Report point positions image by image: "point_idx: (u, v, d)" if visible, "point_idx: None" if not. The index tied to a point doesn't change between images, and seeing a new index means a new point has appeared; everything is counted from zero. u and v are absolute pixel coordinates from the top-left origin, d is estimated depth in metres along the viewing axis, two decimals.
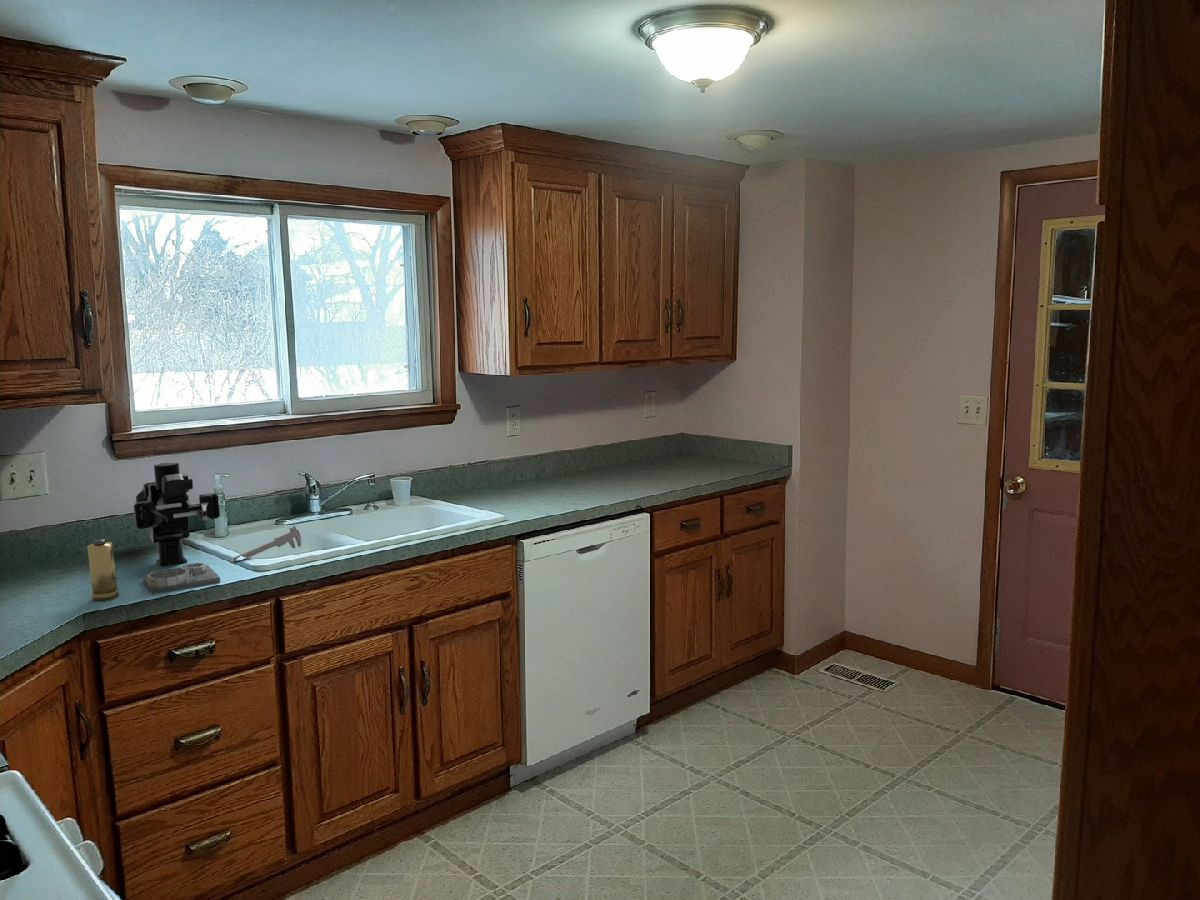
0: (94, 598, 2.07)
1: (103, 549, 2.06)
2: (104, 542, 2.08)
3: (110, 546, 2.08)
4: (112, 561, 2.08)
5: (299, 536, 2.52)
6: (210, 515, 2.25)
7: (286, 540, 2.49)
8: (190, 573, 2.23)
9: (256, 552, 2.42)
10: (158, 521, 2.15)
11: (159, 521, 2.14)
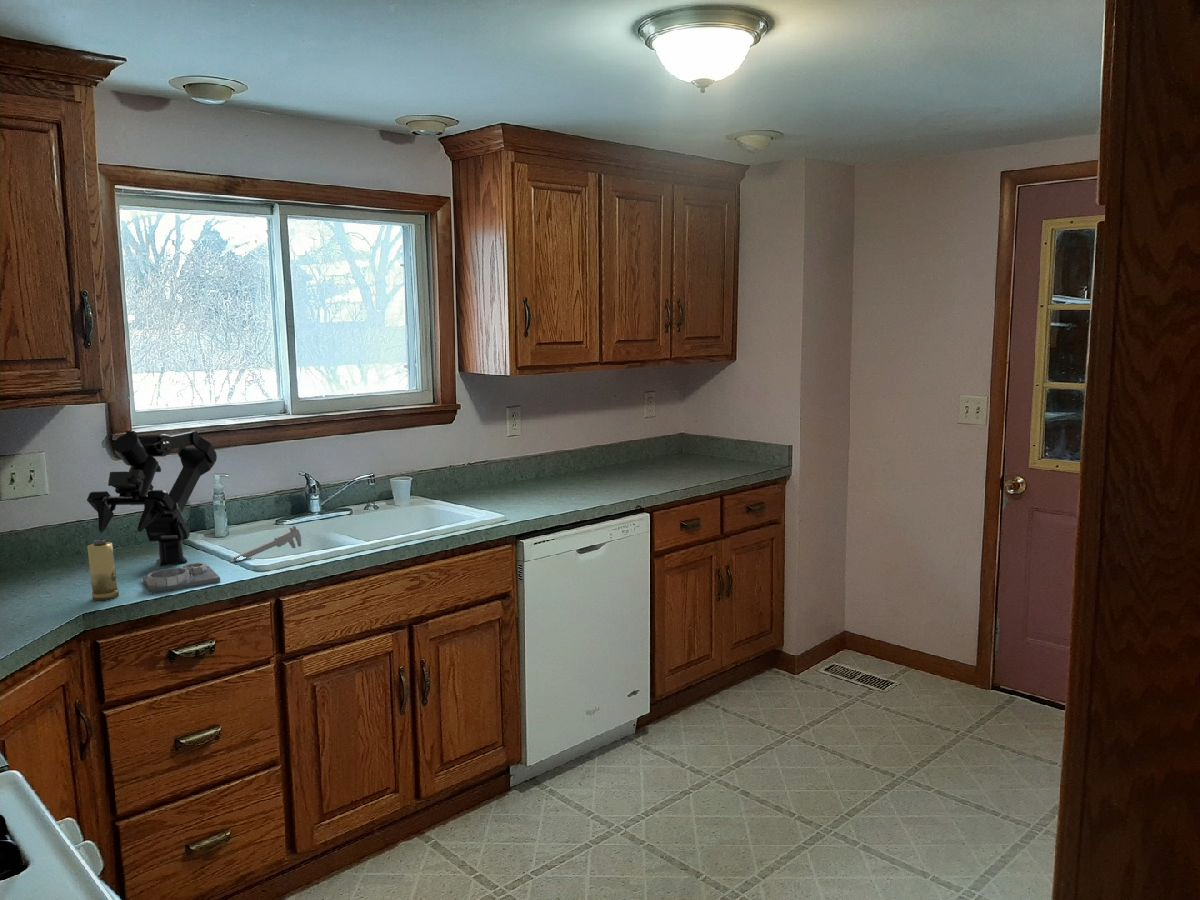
0: (94, 598, 2.07)
1: (103, 549, 2.06)
2: (104, 542, 2.08)
3: (110, 546, 2.08)
4: (112, 561, 2.08)
5: (299, 536, 2.52)
6: (160, 512, 2.21)
7: (286, 540, 2.49)
8: (190, 573, 2.23)
9: (256, 552, 2.42)
10: None
11: None
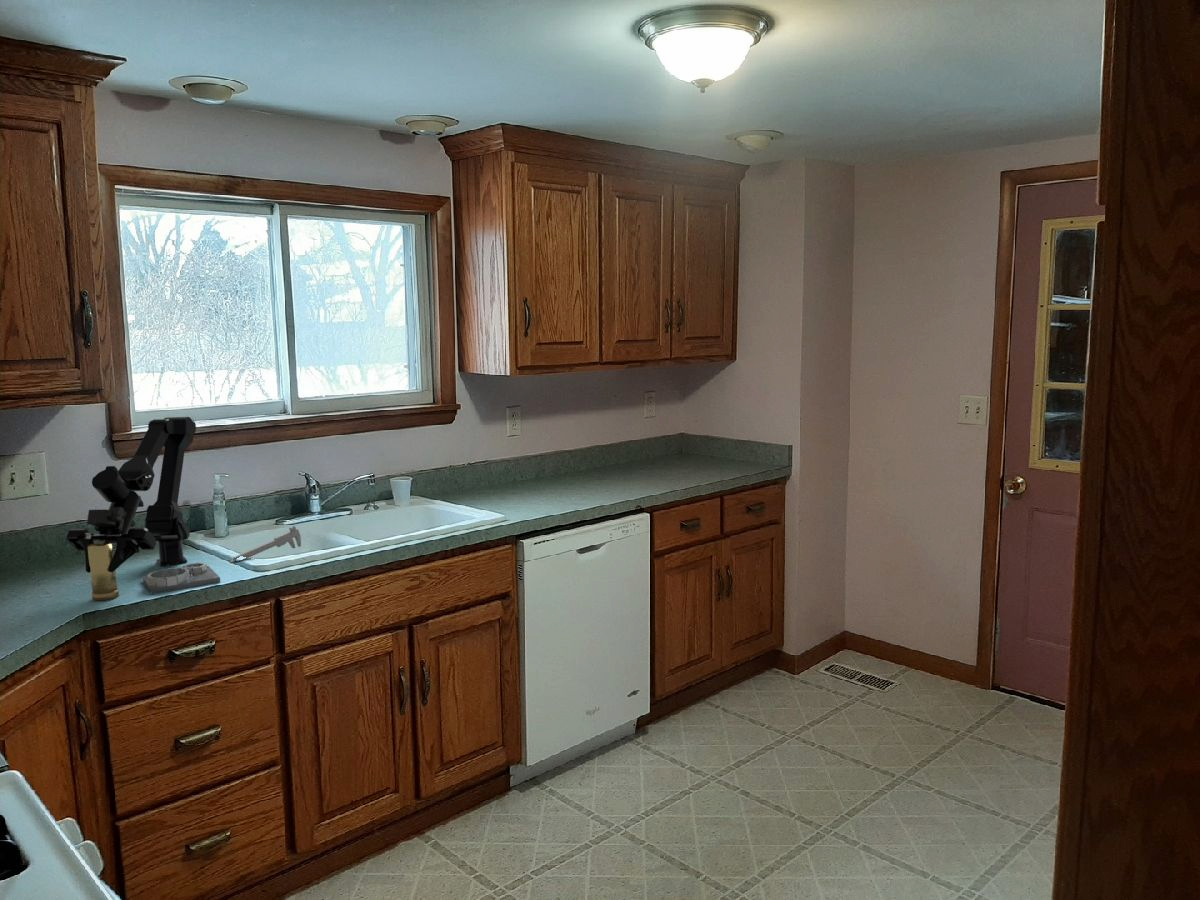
0: (94, 598, 2.07)
1: (103, 549, 2.06)
2: (104, 542, 2.08)
3: (110, 546, 2.08)
4: None
5: (299, 536, 2.52)
6: (133, 550, 2.12)
7: (286, 540, 2.49)
8: (190, 573, 2.23)
9: (256, 552, 2.42)
10: None
11: None
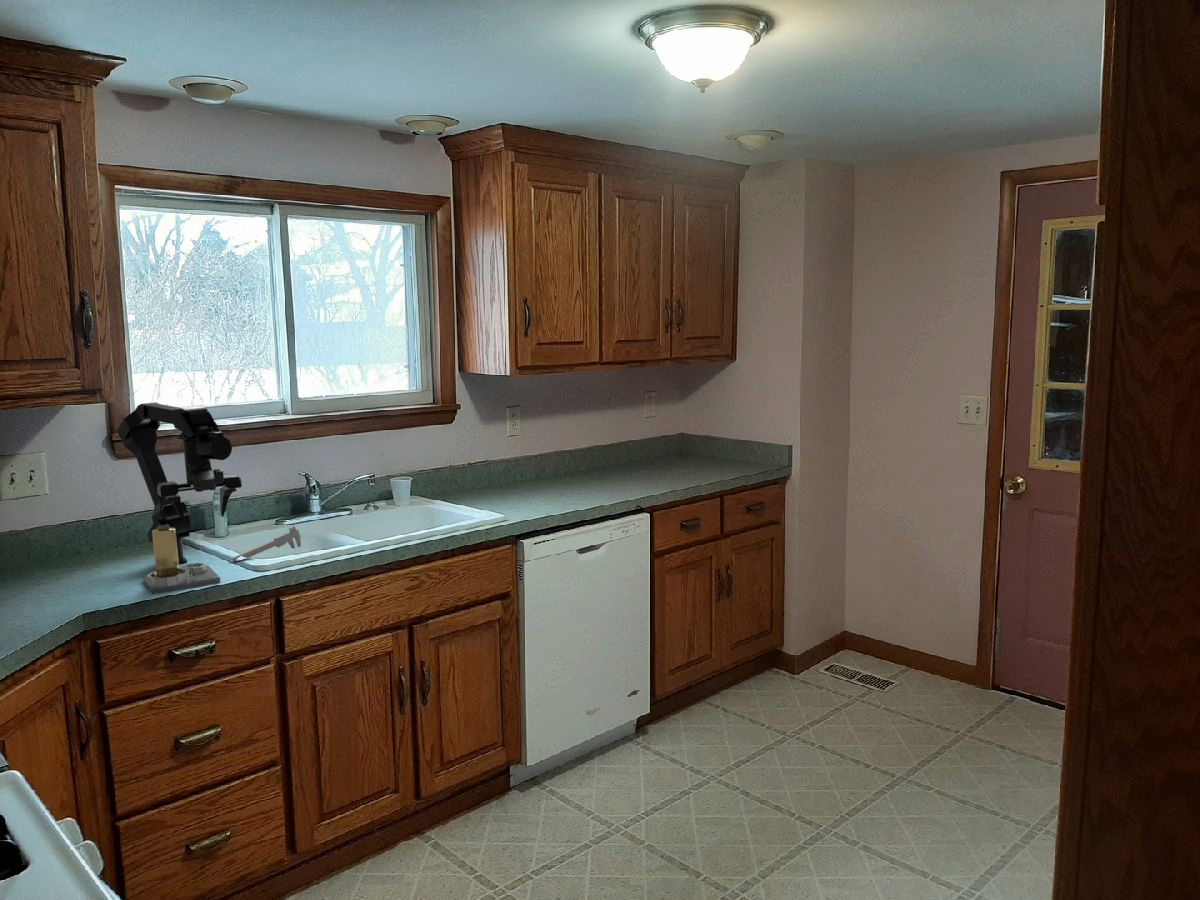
0: None
1: (169, 533, 2.14)
2: (168, 527, 2.16)
3: (174, 530, 2.16)
4: (176, 545, 2.17)
5: (299, 536, 2.51)
6: None
7: (286, 540, 2.48)
8: (190, 573, 2.23)
9: (255, 552, 2.42)
10: (179, 515, 2.27)
11: (179, 517, 2.27)
